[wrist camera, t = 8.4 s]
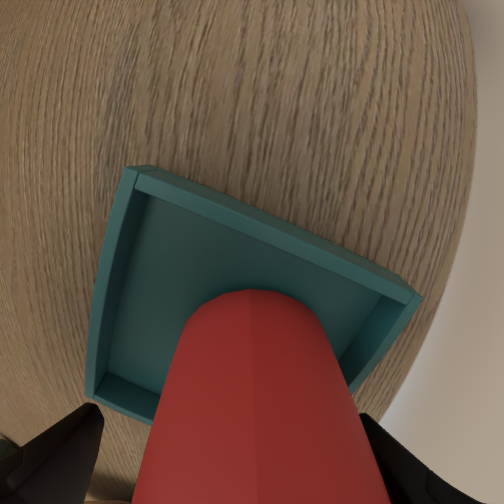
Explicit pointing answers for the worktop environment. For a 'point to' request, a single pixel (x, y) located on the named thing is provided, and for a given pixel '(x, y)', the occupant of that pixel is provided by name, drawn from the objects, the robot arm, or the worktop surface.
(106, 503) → the bowl
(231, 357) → the beer can
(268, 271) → the tray
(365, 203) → the worktop surface
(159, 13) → the worktop surface
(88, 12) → the worktop surface
